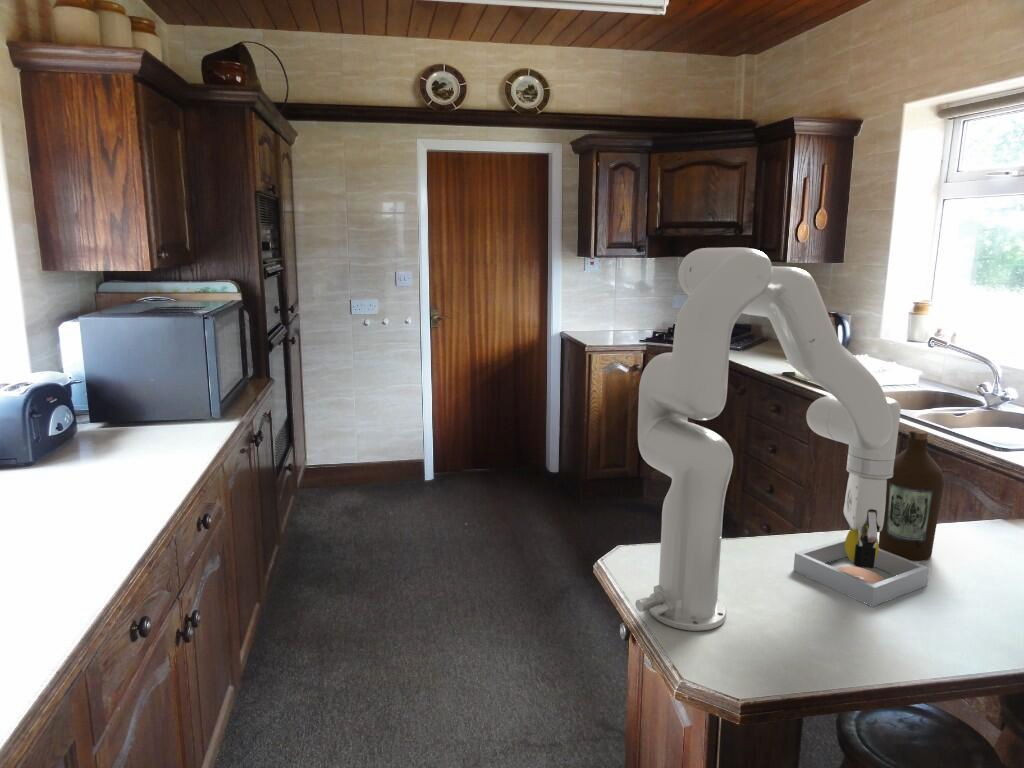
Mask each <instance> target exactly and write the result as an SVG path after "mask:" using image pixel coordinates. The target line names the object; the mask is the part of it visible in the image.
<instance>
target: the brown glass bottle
mask: <svg viewBox="0 0 1024 768" xmlns="http://www.w3.org/2000/svg"><path fill="white" fill-rule="evenodd" d="M908 435H909V436H908V437H907V443H906V445H907V446H906V449H904V450H903V451H902V452H900V453H899V454H897V455H895V464H894V472H893V477H892V478H889V479H887V487H886V489H887V491H886V503H885V514H884V522H883V528H882V531H880V532H878V533H879V535H878V544H879V549H882V550H884V551H887V552H889V553H892V554H895V555H897V556H900V557H902V558H905V559H908V560H910V561H913V562H916V561H917V562H923V561H927V560H929V559H930V558H932V554H933V548H934V544H935V543H934V541H935V537H936V536H935V535H936V530H937V524H938V520H939V519H938V518H939V513H940V507H941V504H942V498H943V494H944V488H945V477H944V473H943V471H942V469H941V467H940V466H939V465H938V463H937V462H936V461H935V460H934V459H933V457H931V456H930V454H929V453H928V451H927V447H928V441H929V440H928V435H929V433H928V432H927V431H926V430H923V429H910V430H909V431H908Z"/></svg>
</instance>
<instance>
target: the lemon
mask: <svg viewBox="0 0 1024 768" xmlns="http://www.w3.org/2000/svg"><path fill="white" fill-rule="evenodd" d="M862 529H868V528H867V527H866V526H862ZM864 536H867V533H865V532H863V537H864ZM845 538H846V541H845V551H846V554H847V558H848V559H849V560H850V561H852V562H853V563H854V557H855V547H856V544H857V545H858V529H857V530H853V529H851V530H850V529H849V531H848V533H847V534H846V537H845ZM879 549H880V548H879V538H877V540H876V552H875V558H876V556H877V554H878V550H879Z"/></svg>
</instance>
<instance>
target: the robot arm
mask: <svg viewBox="0 0 1024 768" xmlns="http://www.w3.org/2000/svg"><path fill="white" fill-rule="evenodd" d="M677 273H678V274H677V276H678V278H677V279H678V282H679V285H680V288H681V289H682V291H683V292H684V293H685V294H686V295H687V296H688V297H687V299H686V300H685V302H684V303H683V305H682V306H681V308H680V310H679V311H678V314H677V317H676V320H675V325H674V331H673V343H672V352H664V353H661V354H657V355H656V356H654V357H653V358H652V359H651V360H649V362H648V363H647V364H646V366H645V367H644V369H643V371H642V374H641V377H640V381H639V384H638V385H639V386H638V406H637V407H638V410H637V411H638V412H637V415H638V416H637V443H638V449H639V453H640V455H641V457H642V459H643V460H644V461H645V462H646V464H647V465H649V466H651V467H652V468H653V469H655V470H656V471H658V472H660V473H663V474H665V475H666V476H668V477H670V479H671V485H670V487H669V489H668V492H667V493H666V496H665V497H664V499H663V505H662V510H661V532H660V533H661V535H660V550H659V551H660V555H659V573H658V574H659V575H658V584H657V585H653V593H651V594H650V595H649V596H648V597H643V598H639V599H637V600H636V601H635V603H634V605H635V608H636V611H638V612H639V613H641V612H642V613H643V612H646V611H649V613H650V614H651V615H652V617H653V618H655V619H656V620H657V621H659V622H661V623H662V624H664V625H666V626H669V627H672V628H675V629H680V630H684V631H690V632H691V631H695V632H698V631H708V630H709V631H710V630H714V629H717V628H718V627H720V626H721V625H723V624H724V622H725V621H726V619H727V608H726V606H725V604H724V603H723V602H721V601H720V599H718V594H719V592H718V591H719V582H720V581H719V579H720V565H721V563H720V562H721V551H722V535H723V534H722V533H723V518H724V506H725V501H726V499H725V498H726V493H727V490H728V485H729V482H730V480H731V475H732V471H733V466H734V455H733V452H732V451H733V450H732V449H731V447H730V445H729V443H728V442H727V441H726V439H725V438H723V437H722V436H721V435H720V434H718V433H717V432H715V431H713V430H711V429H709V428H707V427H704V426H701V425H699V424H696V423H694V422H689V420H688V418H689V419H693V420H696V421H709V420H713V419H715V418H716V417H718V416H720V414H721V413H722V412H723V410H724V408H725V406H726V403H727V397H728V396H727V395H728V383H729V381H728V380H729V365H730V364H729V363H730V345H731V339H732V333H733V329H734V326H735V324H736V322H737V320H738V319H739V317H740V316H741V314H745V315H749V316H756V317H765V318H767V319H768V320H769V321H770V323H771V326H772V328H773V330H774V333H775V334H776V336H777V340H778V342H779V344H780V346H781V349H782V350H783V352H784V353H783V354H784V355H785V358H786V360H787V362H788V363H789V365H790V366H791V367H792V368H794V370H796V371H797V372H799V373H800V374H801V375H802V376H804V377H806V379H809V380H810V381H812V382H813V383H815V384H817V385H818V386H820V387H822V388H823V389H825V390H826V391H827V392H828V393H830V394H831V395H827V396H823V397H822V396H821V397H819V398H817V399H816V400H814V401H813V402H812V403H811V404H810V405H809V407H808V409H807V410H806V422H807V425H808V427H809V429H811V431H813V433H816V434H817V435H818V436H821V437H823V438H827V439H830V440H833V441H835V442H838V443H843V444H846V445H848V453H847V461H846V472H847V473H849V474H848V479H847V483H846V484H847V485H846V491H845V499H844V503H843V504H844V505H843V515H844V518H845V519H846V521H847V523H848V525H849V531H850V530H851V529H853V530H857V529H858V545H857V544H856V547H855V557H854V562H853V565H854V567H859V568H864V569H866V568H867V569H874V568H875V567H874V561H875V552H876V540H877V539H878V533H880V531H882V528H883V522H884V514H885V503H886V491H887V489H886V487H887V479H889V478H892V477H893V472H894V464H895V457H896V454H897V453H896V452H897V446H898V436H899V427H900V419H901V409H902V408H901V404H900V403H899V401H898V400H896V399H895V398H891V397H888V396H886V395H885V392H884V390H883V388H882V386H881V384H880V383H879V382H878V380H877V379H876V377H875V376H874V375H873V373H871V372H870V371H869V369H868V368H866V366H864V364H862V363H861V361H859V360H858V358H856V357H855V356H854V354H853V353H852V352H850V350H848V349H847V348H846V347H845V346H844V345H843V344H842V343H841V341H840V340H839V337H838V335H837V332H836V329H835V327H834V325H833V323H832V320H831V318H830V315H829V313H828V311H827V308H826V305H825V303H824V300H823V297H822V295H821V292H820V289H819V287H818V286H817V285H818V284H817V283H816V281H815V279H814V278H813V276H812V275H811V274H810V273H809V272H807V271H806V270H804V269H802V268H799V267H792V266H777V265H776V266H774V265H772V262H771V259H770V258H769V257H768V255H767V254H765V253H764V252H763V251H762V250H761V251H760V250H758V249H755V248H749V247H739V246H737V247H736V246H735V247H733V246H732V247H705V248H704V247H702V248H697V249H695V250H693V251H691V252H690V253H688V254H687V255H685V257H684V258H683V260H682V261H681V263H680V266H679V267H678V272H677ZM862 526H866V527H867V528H868V529H862ZM863 532H865V533H867V536H864V537H863Z"/></svg>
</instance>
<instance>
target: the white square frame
mask: <svg viewBox="0 0 1024 768" xmlns="http://www.w3.org/2000/svg"><path fill="white" fill-rule="evenodd" d="M845 541H846V537H844V538H840V539H837V540H833V541H831V542H827V543H824V544H820V545H818V546H814V547H810V548H807V549H804V550H800V551H797V552H795V553H794V559H793V561H794V562H793V572H797V573H798V572H799V573H798V574H800V573H801V575H802V574H803V575H802V576H805V577H807V576H808V577H807V578H809V577H810V578H809V579H811V578H812V579H811V580H813V579H814V580H813V581H815V580H816V581H815V582H817V581H818V583H820V584H822V583H823V584H822V585H824V586H826V585H827V586H826V587H828V586H829V587H828V588H830V587H831V588H830V589H833V588H834V589H833V590H835V591H837V590H838V591H837V592H839V591H840V592H839V593H841V592H842V594H843V593H844V594H843V595H845V594H846V595H845V596H848V595H849V596H848V597H850V596H851V597H850V598H852V597H853V598H852V599H854V598H856V599H857V600H856V599H855V600H856V601H858V600H860V601H863V602H865V603H867V604H868V605H867V604H866V605H867V606H869V605H871V606H874V607H875V605H876V606H878V605H877V604H879V605H881V604H880V603H882V602H884V603H886V602H885V601H887V600H889V601H891V600H890V599H892V600H894V599H896V598H895V597H897V598H899V597H898V596H900V595H902V596H904V595H903V594H905V595H907V594H909V592H910V593H912V592H911V591H913V592H915V591H917V589H918V590H920V589H922V587H923V588H925V587H927V586H928V580H929V574H930V573H929V572H930V567H928V566H925V565H924V564H920V563H919V562H916V561H911V560H908V559H905V558H902V557H900V556H897V555H895V554H892V553H889V552H887V551H884V550H882V549H880V548H879V550H878V554H877V556H876V558H875V561H874V567H873V568H876V567H877V569H878V568H879V570H881V571H883V570H884V571H883V572H886V571H887V572H886V573H888V572H889V573H888V574H891V573H892V574H891V575H893V574H894V575H893V576H891V577H889V578H885V579H884V578H883V577H882V576H881V575H880V574H878V573H877V572H875V571H873V570H871V569H868V568H867V569H866V568H864V567H856V566H850V565H849V566H840V567H837V568H836V567H834V566H832V565H830V564H828V563H827V562H829V563H831V561H832V562H834V560H835V561H838V560H841V559H843V558H848V556H847V554H846V551H845ZM825 563H826V564H825ZM895 575H897V576H895ZM914 590H915V591H914ZM906 593H907V594H906ZM900 597H901V596H900ZM893 598H894V599H893ZM860 601H859V602H860ZM863 602H862V603H863ZM887 602H888V601H887ZM865 603H864V604H865ZM882 604H883V603H882ZM871 606H870V607H871Z"/></svg>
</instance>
